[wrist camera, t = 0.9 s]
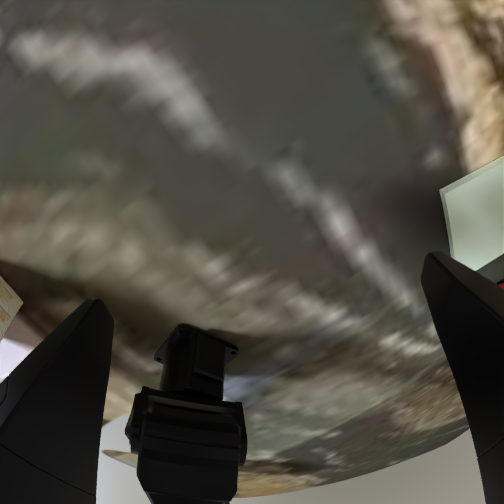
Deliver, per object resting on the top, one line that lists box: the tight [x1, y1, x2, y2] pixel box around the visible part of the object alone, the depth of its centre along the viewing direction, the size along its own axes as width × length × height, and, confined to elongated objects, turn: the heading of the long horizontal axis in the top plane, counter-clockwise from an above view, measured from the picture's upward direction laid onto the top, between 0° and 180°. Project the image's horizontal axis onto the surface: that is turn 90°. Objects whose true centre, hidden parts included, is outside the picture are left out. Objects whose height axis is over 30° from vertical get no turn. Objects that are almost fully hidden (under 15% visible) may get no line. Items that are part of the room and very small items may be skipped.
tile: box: [439, 156, 504, 271], centre depth 21 cm, size 10×10×1 cm
